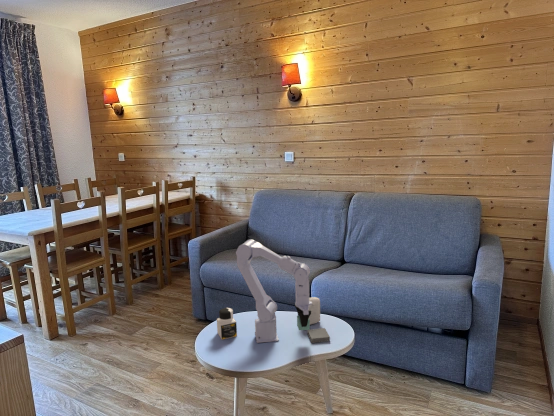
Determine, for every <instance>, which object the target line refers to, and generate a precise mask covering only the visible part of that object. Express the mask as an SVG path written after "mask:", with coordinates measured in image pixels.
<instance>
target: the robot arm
mask: <svg viewBox="0 0 554 416" xmlns="http://www.w3.org/2000/svg"><path fill="white" fill-rule="evenodd" d="M235 254H236V266H237V268H238V270H239V271H240V273H241V276H242V278H243V279H244V281H245V284H246V285H247V287H248V289H249V291H250V293H251V295H252V297H253V298H254V301H255V309H256V312H257V318H255V319H254V330H255V331H254V336H255V341H256V343H257V344H260V343H271V342H279V336H278V333H277V315H276V312H277V310H278V304H277V302H275V301H274V300H273V298H272V297H271V296H270V295H267V293H266V291H265V290H264V287H263V285H262V284H261V281H260V280H259V278H258V275H257V273H256V272H255V269H254V268H253V266H252V264H251V262H252V259H253V258H257V257H262V258H264V259H266V260H268V261H270V262H272V263H275V264H277V266H278V269H280V270H282V271H285V272H286V273H288V274H290V275H291V276H293V278H294V280H295V283H294V285H295V288H294V289H295V304H294V307H295V309H296V312H297V316H299V317H300V321H301V326H302V327H306V326H307V323H308V319H309V316H310V315H311V310H310V311H309V310H308V309H309V306H310V305H312V302H311V301H309V298H310V280H309V279H310V277H309V275H310V273H311V269H310V267H309V265H308V264H307V263H304V262H299V261H296V260H294V259H292V258H291V256H289V255H287V256H286V255H284V256H281V255H279V254H278V253H276V252H274V251H272V250H271V249H270V248H268V247H266V246H264V245H263V244H262V243H260V242H259V241H256V240H254V239H251V238H250V239H247V240H246V241H244V243H242V244H240V245H239V246H238V247H237V249H236V251H235Z"/></svg>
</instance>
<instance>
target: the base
mask: <svg viewBox="0 0 554 416" xmlns="http://www.w3.org/2000/svg"><path fill="white" fill-rule="evenodd" d="M306 331H307V337H308V338H309V340H310V343H311V344H313V343H316V344H317V343H325V342H330V341H331V337H330V335H329V333H328V331H327V329H326V328H325V327H324V328H322V327H321V328H313V329H310V330H306Z"/></svg>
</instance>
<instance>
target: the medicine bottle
mask: <svg viewBox="0 0 554 416" xmlns="http://www.w3.org/2000/svg"><path fill="white" fill-rule="evenodd" d="M218 314H219V315H218V316H219V317H218V318H216V331H217V334H218V336H219V337H220V339H221V340H222V341H223V340H228V339H231V338H236V337H237V336H238V331H237V329H238V328H237V321H236V319H235V318H234V310H233V308H230V307H223V308H220V310H218Z"/></svg>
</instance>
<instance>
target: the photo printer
mask: <svg viewBox="0 0 554 416" xmlns="http://www.w3.org/2000/svg"><path fill="white" fill-rule="evenodd" d="M309 301H311V302H312V305H310V306H309V309H308V310H309V311H310V310H311V315H310V316H309V319H310V325H314V324H318V323H320V322H321V300H320V298H318V297H314V296H313V297H309ZM319 321H320V322H319ZM317 322H318V323H317Z"/></svg>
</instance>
